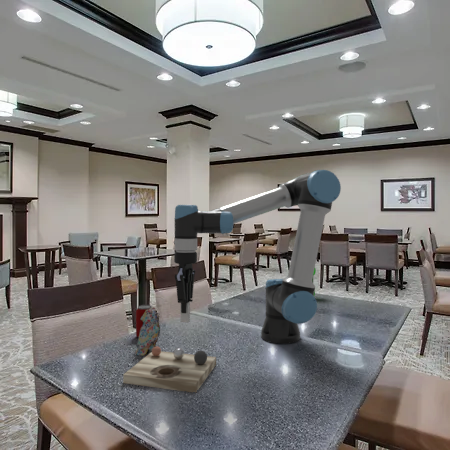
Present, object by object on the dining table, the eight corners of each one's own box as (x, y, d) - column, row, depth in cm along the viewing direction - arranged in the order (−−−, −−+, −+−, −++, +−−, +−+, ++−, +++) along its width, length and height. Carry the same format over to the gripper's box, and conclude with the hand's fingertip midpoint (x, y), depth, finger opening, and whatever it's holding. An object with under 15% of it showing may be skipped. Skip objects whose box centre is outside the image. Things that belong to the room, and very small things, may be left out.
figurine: (133, 348, 129) (132, 307, 129) (157, 344, 133) (157, 304, 133) (137, 356, 121) (136, 312, 121) (163, 352, 125) (162, 310, 125)
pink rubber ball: (162, 354, 117) (162, 345, 117) (158, 358, 114) (158, 348, 114) (154, 353, 118) (154, 344, 118) (150, 357, 115) (149, 347, 115)
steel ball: (185, 357, 114) (185, 346, 114) (181, 361, 111) (181, 350, 111) (175, 356, 115) (175, 345, 115) (171, 360, 112) (171, 349, 112)
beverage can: (149, 340, 138) (149, 309, 138) (133, 339, 139) (132, 308, 139) (156, 334, 144) (156, 304, 144) (140, 333, 146) (140, 304, 146)
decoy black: (208, 362, 111) (208, 349, 111) (204, 367, 107) (204, 354, 107) (196, 360, 112) (196, 348, 112) (192, 366, 108) (192, 352, 108)
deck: (153, 357, 121) (153, 350, 120) (216, 364, 115) (216, 357, 115) (123, 383, 102) (123, 374, 102) (196, 392, 96) (195, 383, 96)
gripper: (182, 249, 126) (181, 315, 127) (167, 252, 113) (166, 326, 114) (202, 250, 124) (202, 317, 125) (189, 253, 111) (188, 328, 112)
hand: (185, 321), depth 119 cm, fingers closed
